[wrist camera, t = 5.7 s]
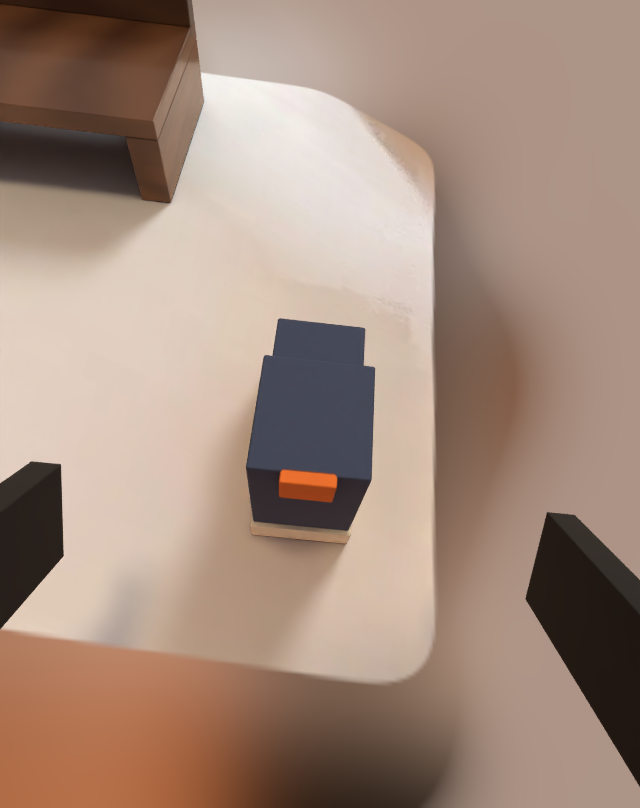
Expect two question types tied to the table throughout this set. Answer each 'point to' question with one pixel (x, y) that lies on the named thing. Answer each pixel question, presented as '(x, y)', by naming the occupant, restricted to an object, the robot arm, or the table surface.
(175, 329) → the table surface
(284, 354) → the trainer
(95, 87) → the shoe shelf
